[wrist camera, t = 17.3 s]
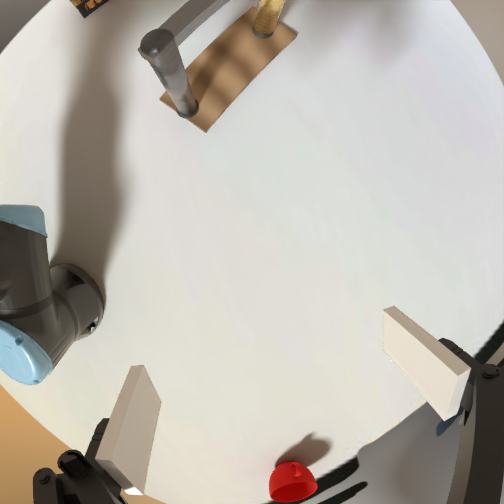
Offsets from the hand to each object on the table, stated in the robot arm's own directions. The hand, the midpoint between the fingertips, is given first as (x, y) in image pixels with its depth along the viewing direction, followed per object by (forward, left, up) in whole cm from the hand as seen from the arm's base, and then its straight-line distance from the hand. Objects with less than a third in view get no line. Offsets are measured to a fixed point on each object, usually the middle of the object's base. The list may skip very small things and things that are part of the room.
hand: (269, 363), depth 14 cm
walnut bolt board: (+5, +30, -37) cm, 48 cm away
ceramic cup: (0, -66, -37) cm, 76 cm away
